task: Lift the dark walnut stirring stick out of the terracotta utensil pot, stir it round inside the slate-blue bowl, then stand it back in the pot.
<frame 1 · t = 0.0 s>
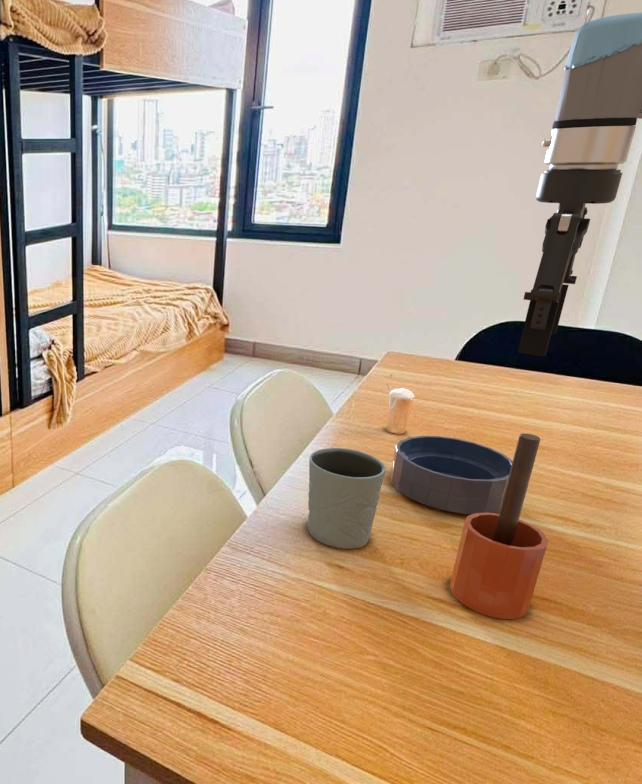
hand: (537, 342, 81), 31 cm above the table, tool pointing down, fingers open, 13 cm apart
milkshake: (393, 431, 131), on the table
utensil pot: (487, 597, 81), on the table
stirring stick: (488, 593, 80), point 1 cm above the table, touching utensil pot
grey cup: (335, 533, 95), on the table
bowl: (446, 491, 106), on the table
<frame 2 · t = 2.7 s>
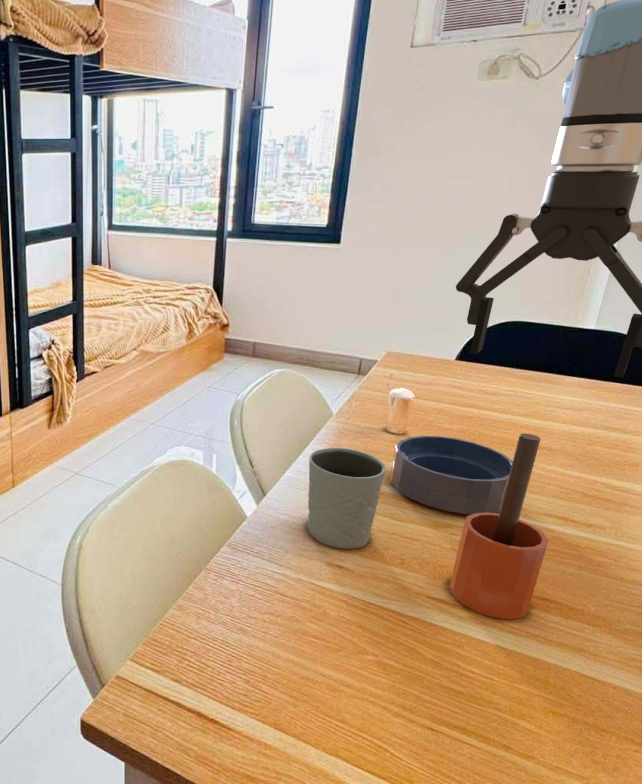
hand: (543, 362, 73), 31 cm above the table, tool pointing down, fingers open, 13 cm apart
nothing on the table moved.
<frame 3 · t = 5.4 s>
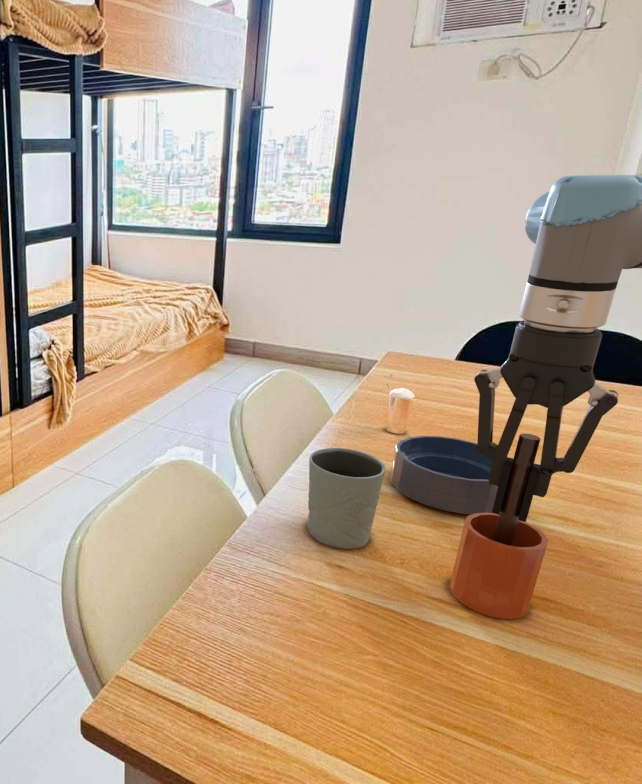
hand: (510, 512, 76), 12 cm above the table, tool pointing down, fingers closed on stirring stick, 2 cm apart
stirring stick: (488, 593, 80), point 1 cm above the table, touching gripper, utensil pot
everything else where it was.
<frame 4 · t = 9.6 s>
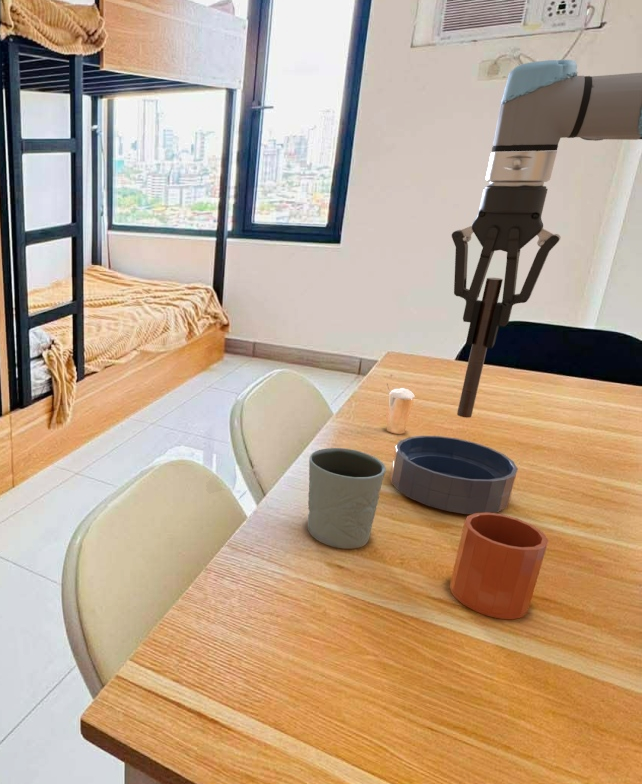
hand: (480, 344, 97), 26 cm above the table, tool pointing down, fingers closed on stirring stick, 2 cm apart
stirring stick: (464, 415, 101), point 14 cm above the table, touching gripper
everything else where it was.
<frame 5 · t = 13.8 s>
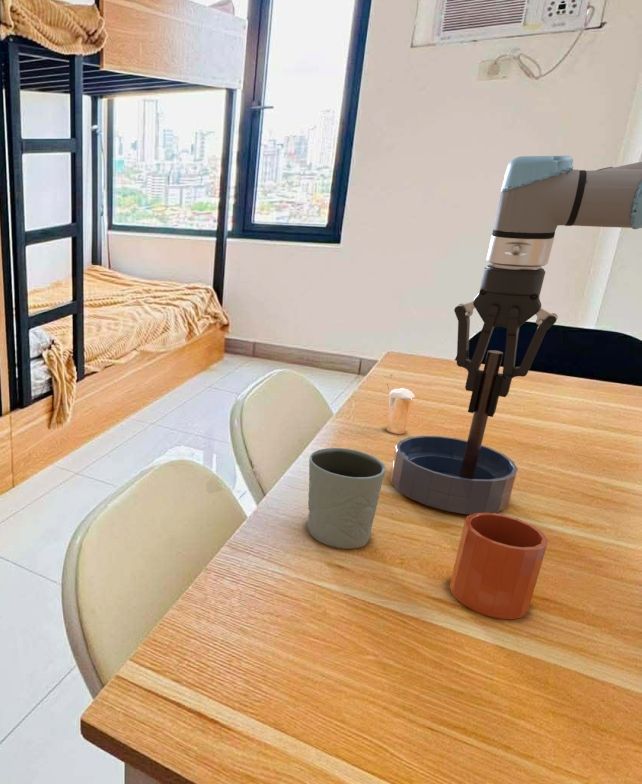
hand: (481, 411, 101), 15 cm above the table, tool pointing down, fingers closed on stirring stick, 2 cm apart
stirring stick: (466, 477, 105), point 3 cm above the table, touching gripper
everything else where it was.
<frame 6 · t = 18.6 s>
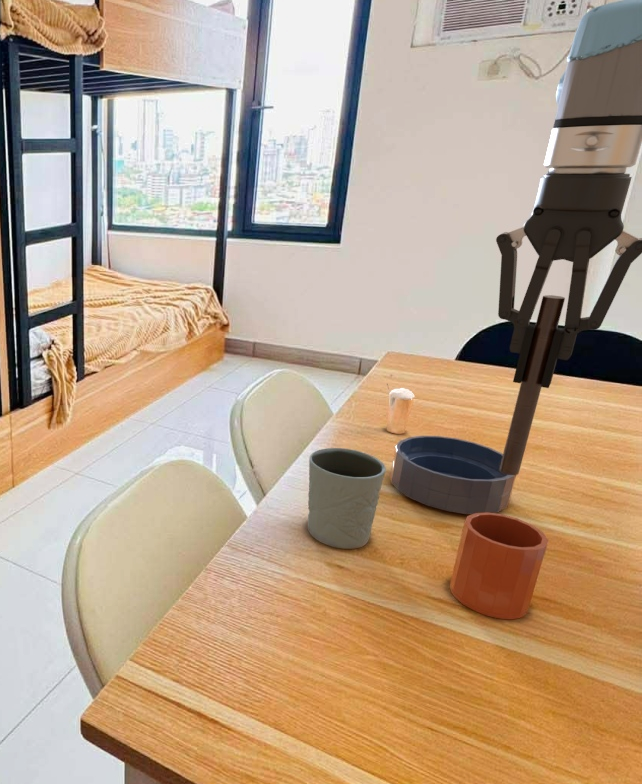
hand: (531, 381, 74), 28 cm above the table, tool pointing down, fingers closed on stirring stick, 2 cm apart
stirring stick: (508, 471, 78), point 16 cm above the table, touching gripper
everything else where it was.
when the fingers open (12 cm above the table, at t = 22.4 s): stirring stick stays where it is, resting on utensil pot.
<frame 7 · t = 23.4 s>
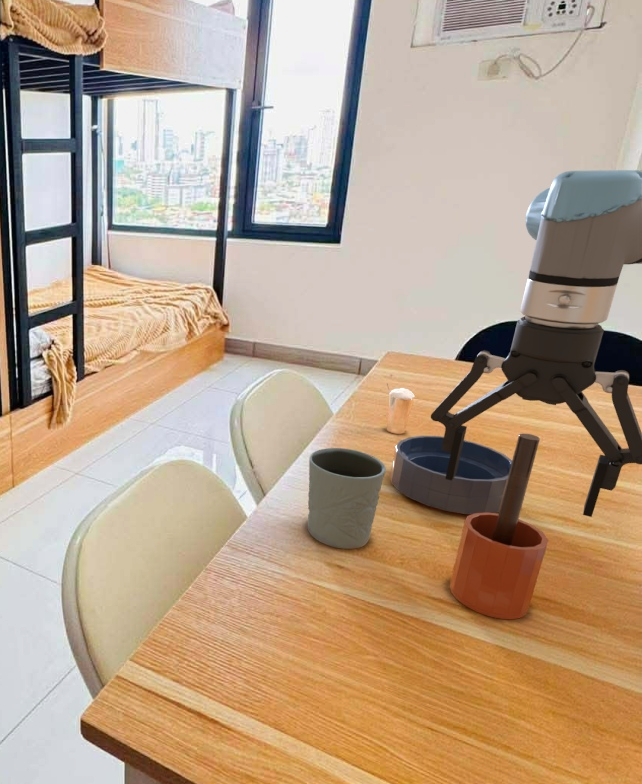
hand: (515, 492, 75), 15 cm above the table, tool pointing down, fingers open, 13 cm apart
stirring stick: (488, 593, 80), point 1 cm above the table, touching utensil pot
everything else where it was.
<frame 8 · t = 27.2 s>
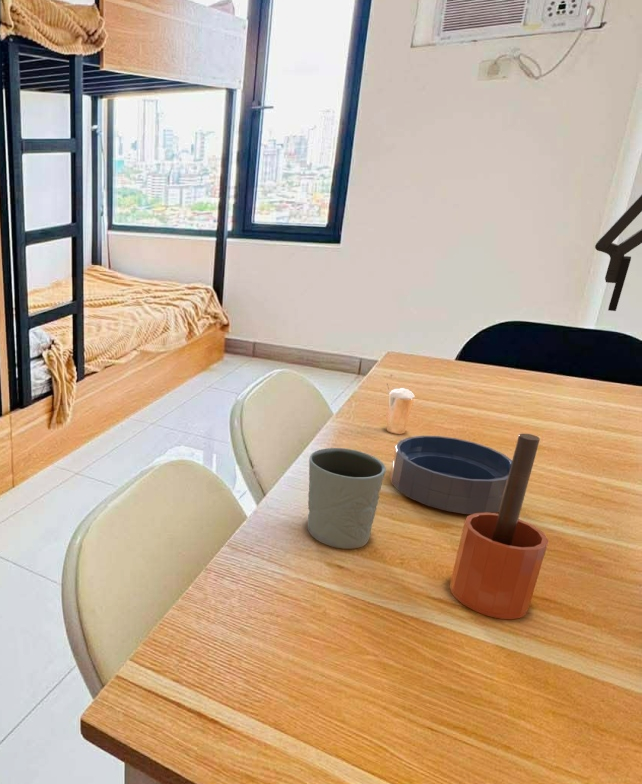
nothing on the table moved.
at the end: stirring stick 0.1 cm off-centre in the utensil pot, point 0.6 cm above the utensil pot's base; stirring stick touching utensil pot; stirring stick tilted 0° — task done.
